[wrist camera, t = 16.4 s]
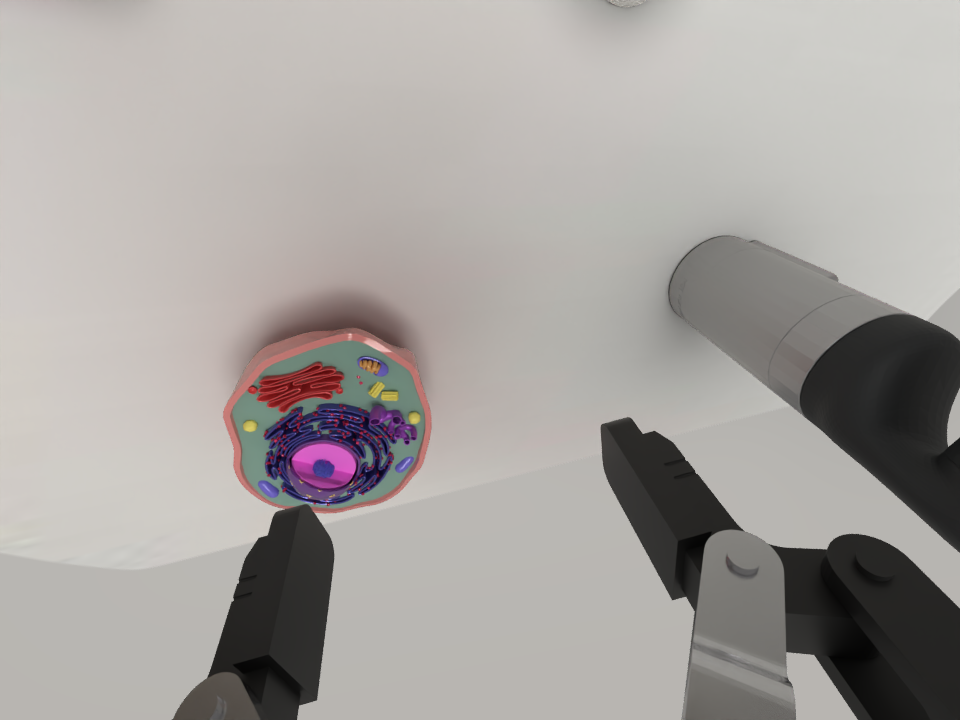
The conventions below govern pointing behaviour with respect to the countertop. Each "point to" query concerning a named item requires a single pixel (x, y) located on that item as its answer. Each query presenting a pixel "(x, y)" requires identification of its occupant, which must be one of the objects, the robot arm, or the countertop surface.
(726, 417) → the countertop surface
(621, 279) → the countertop surface
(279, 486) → the cell model
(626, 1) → the beer glass
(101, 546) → the countertop surface
